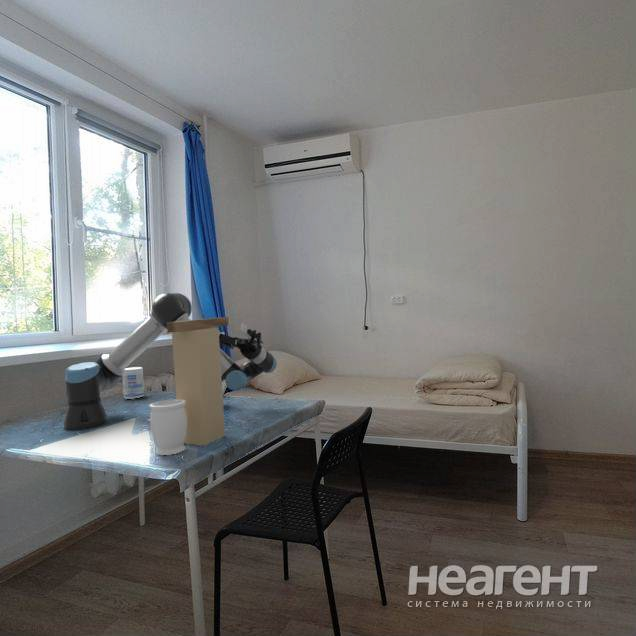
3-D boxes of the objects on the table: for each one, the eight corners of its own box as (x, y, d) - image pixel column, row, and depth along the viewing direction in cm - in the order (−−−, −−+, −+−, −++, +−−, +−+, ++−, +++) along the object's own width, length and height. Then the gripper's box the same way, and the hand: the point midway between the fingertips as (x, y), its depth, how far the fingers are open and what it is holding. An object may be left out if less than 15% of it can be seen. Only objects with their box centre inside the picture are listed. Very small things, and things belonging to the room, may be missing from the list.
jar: (158, 460, 137) (155, 408, 136) (148, 451, 145) (144, 403, 145) (194, 451, 143) (190, 401, 143) (182, 444, 152) (178, 397, 151)
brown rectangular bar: (167, 332, 145) (166, 322, 144) (218, 325, 169) (218, 317, 169) (178, 332, 143) (177, 322, 143) (228, 325, 168) (227, 317, 168)
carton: (179, 443, 152) (171, 331, 151) (200, 433, 162) (193, 328, 161) (205, 445, 148) (197, 330, 147) (225, 435, 158) (218, 327, 157)
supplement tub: (129, 400, 227) (127, 370, 227) (120, 399, 234) (118, 369, 233) (148, 397, 235) (146, 367, 234) (138, 395, 241) (136, 366, 240)
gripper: (228, 342, 193) (198, 318, 176) (283, 341, 184) (258, 316, 166) (223, 359, 190) (193, 337, 172) (279, 359, 180) (253, 336, 163)
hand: (225, 327), depth 169 cm, fingers open, 13 cm apart
